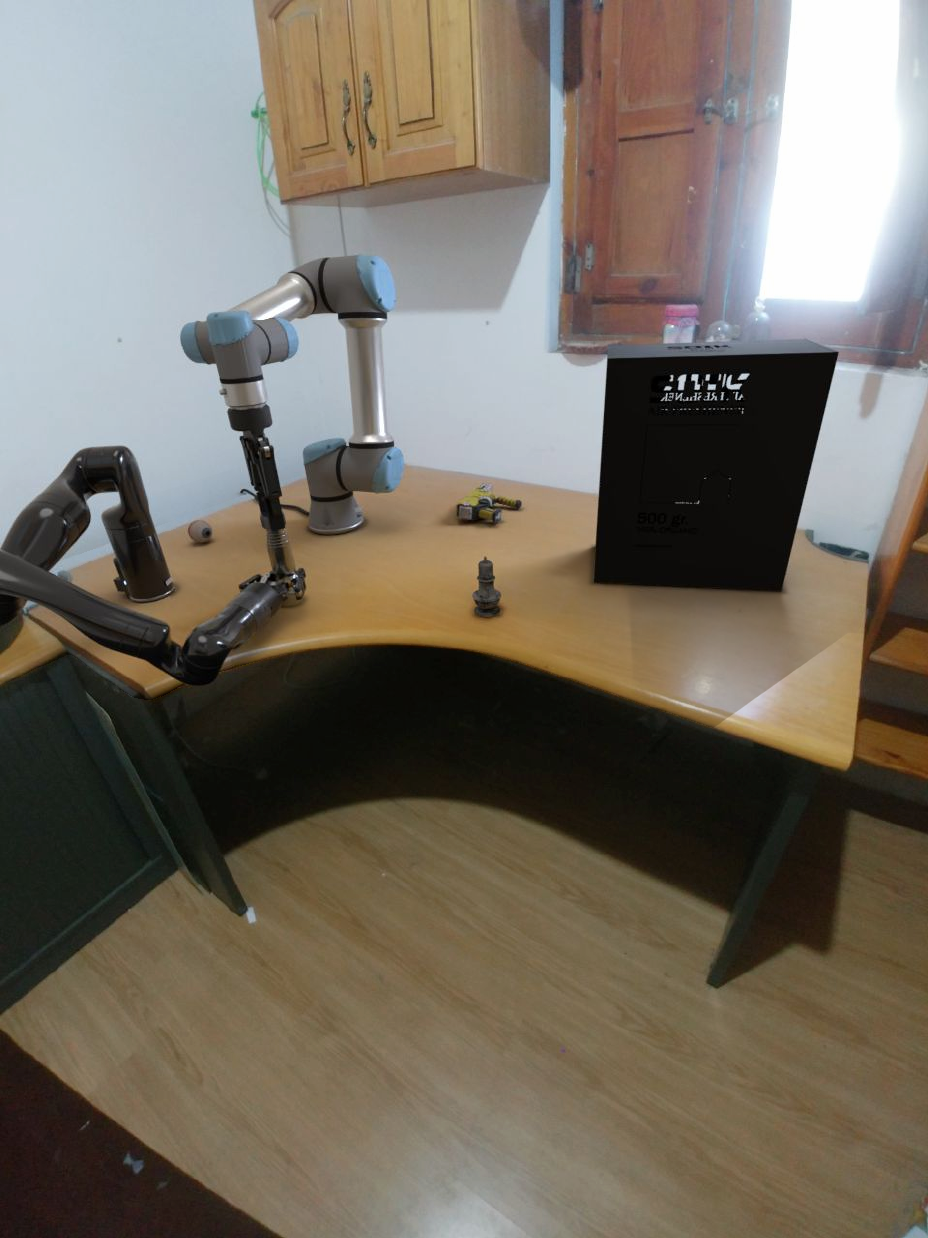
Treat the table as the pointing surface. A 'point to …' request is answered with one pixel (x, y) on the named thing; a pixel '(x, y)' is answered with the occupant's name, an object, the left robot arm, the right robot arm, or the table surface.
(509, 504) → the toy gun
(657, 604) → the table surface
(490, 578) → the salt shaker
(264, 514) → the cap
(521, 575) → the table surface
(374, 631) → the table surface
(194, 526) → the eyeball
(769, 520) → the cardboard box
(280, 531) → the bottle
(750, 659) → the table surface
